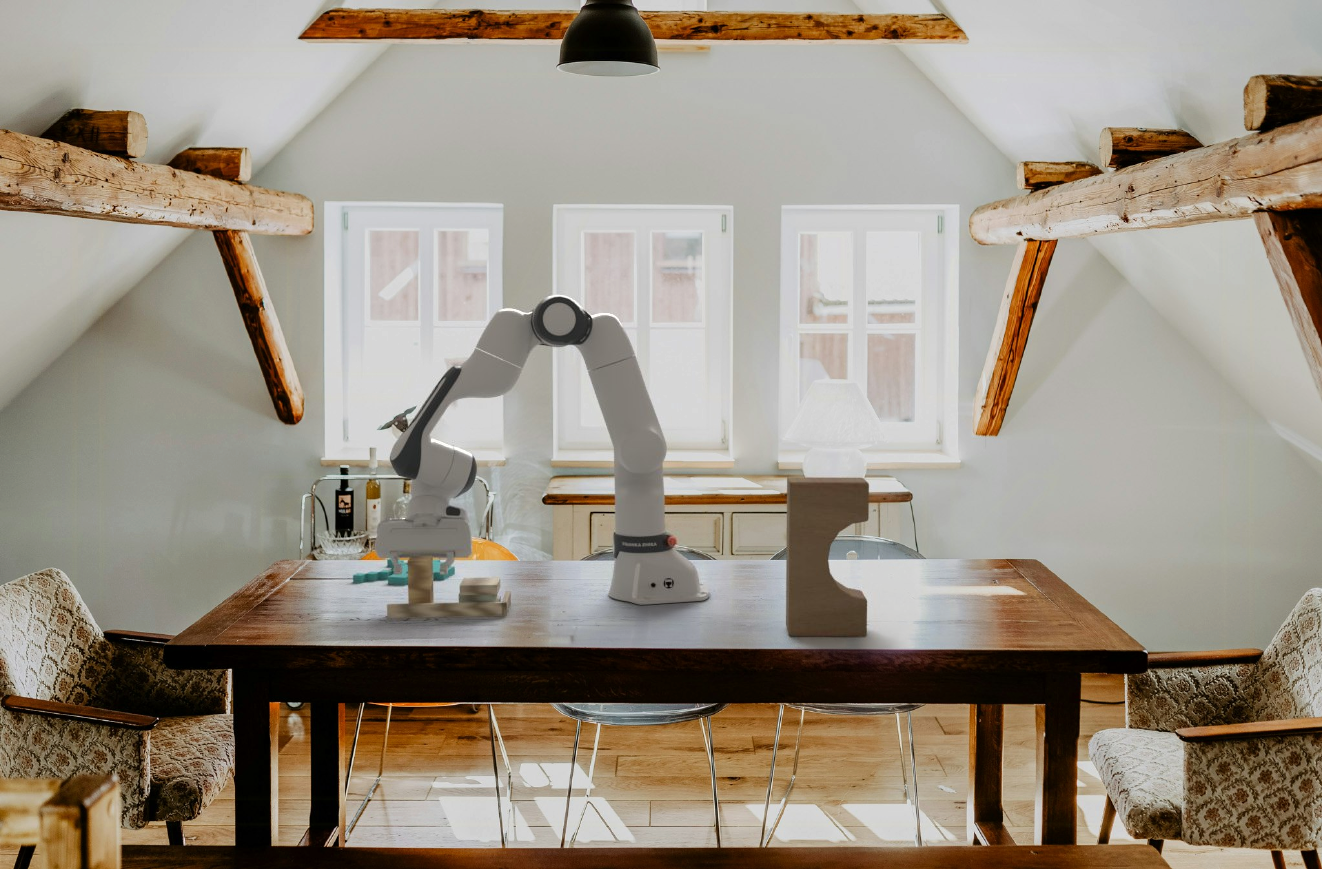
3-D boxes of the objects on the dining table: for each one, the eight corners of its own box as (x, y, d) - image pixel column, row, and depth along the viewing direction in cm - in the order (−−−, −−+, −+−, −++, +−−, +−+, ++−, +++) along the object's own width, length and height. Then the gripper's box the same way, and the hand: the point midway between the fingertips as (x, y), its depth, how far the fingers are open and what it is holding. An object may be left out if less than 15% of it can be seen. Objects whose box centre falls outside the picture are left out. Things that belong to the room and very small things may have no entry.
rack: (510, 608, 222) (510, 591, 222) (506, 621, 212) (506, 602, 212) (396, 610, 221) (396, 593, 221) (387, 623, 211) (386, 605, 211)
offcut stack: (500, 605, 221) (500, 577, 220) (497, 613, 214) (497, 584, 213) (462, 605, 220) (462, 577, 220) (458, 614, 213) (457, 585, 213)
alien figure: (353, 584, 247) (432, 588, 243) (352, 575, 247) (432, 578, 243) (391, 566, 266) (465, 569, 262) (391, 557, 266) (465, 560, 262)
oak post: (433, 607, 218) (432, 556, 217) (430, 613, 214) (429, 560, 213) (412, 608, 218) (411, 556, 217) (408, 613, 214) (407, 560, 213)
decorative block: (861, 626, 208) (863, 477, 205) (867, 637, 200) (869, 482, 197) (785, 626, 208) (786, 477, 206) (788, 636, 201) (789, 482, 198)
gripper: (376, 510, 223) (367, 565, 214) (473, 509, 224) (467, 564, 215) (381, 527, 227) (372, 581, 219) (475, 526, 229) (470, 580, 220)
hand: (420, 573), depth 217 cm, fingers open, 8 cm apart
